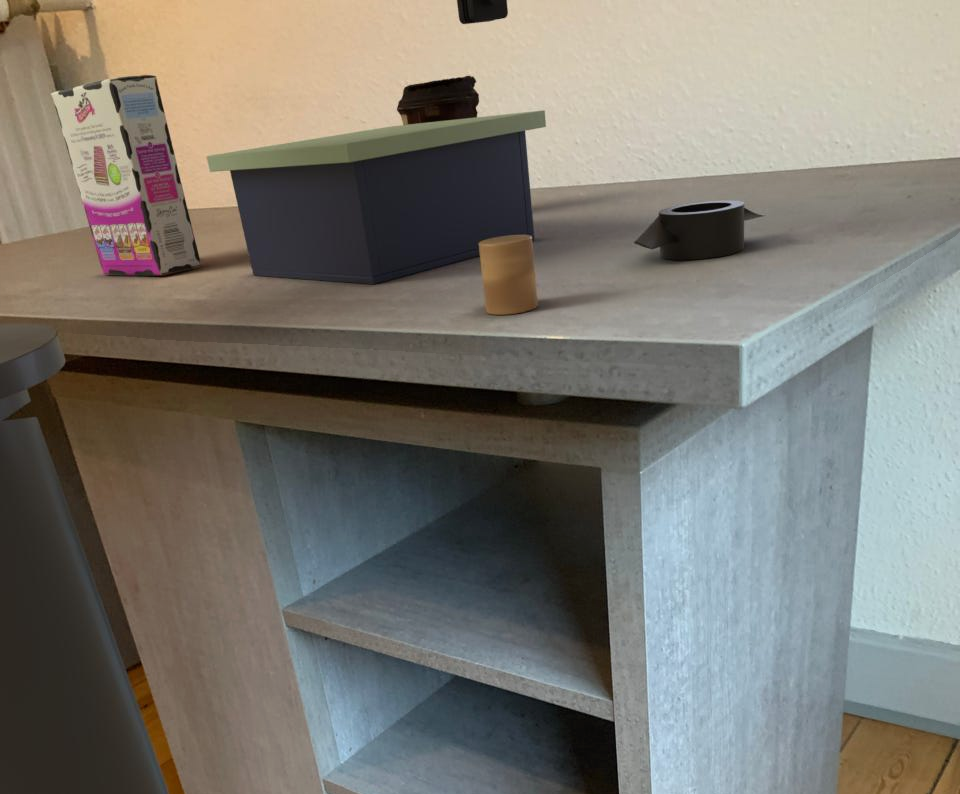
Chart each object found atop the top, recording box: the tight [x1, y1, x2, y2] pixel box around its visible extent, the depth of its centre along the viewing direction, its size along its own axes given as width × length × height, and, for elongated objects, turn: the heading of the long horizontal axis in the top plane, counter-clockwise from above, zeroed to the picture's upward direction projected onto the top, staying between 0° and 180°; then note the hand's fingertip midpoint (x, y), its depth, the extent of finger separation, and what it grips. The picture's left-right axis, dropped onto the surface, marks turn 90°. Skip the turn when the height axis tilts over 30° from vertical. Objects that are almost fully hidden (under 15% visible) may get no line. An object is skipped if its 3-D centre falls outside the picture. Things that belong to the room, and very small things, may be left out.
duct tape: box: [633, 199, 767, 261], centre depth 68 cm, size 8×10×3 cm
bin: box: [229, 131, 536, 285], centre depth 83 cm, size 18×18×8 cm
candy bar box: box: [50, 74, 202, 277], centre depth 93 cm, size 11×5×16 cm, turn 49°
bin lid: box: [206, 109, 547, 173], centre depth 80 cm, size 20×20×1 cm
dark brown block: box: [396, 75, 480, 125], centre depth 100 cm, size 9×8×13 cm
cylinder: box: [479, 235, 539, 316], centre depth 59 cm, size 3×3×4 cm
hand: (484, 20), depth 68 cm, fingers closed
